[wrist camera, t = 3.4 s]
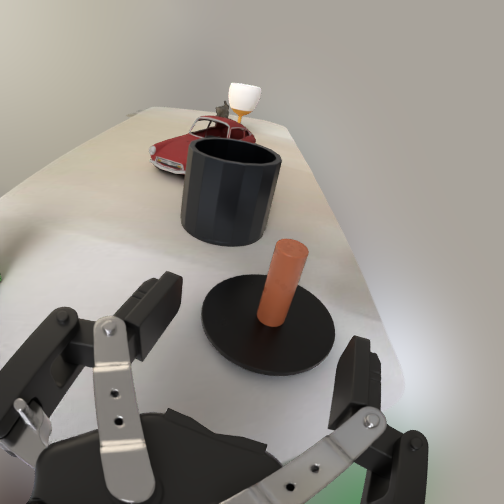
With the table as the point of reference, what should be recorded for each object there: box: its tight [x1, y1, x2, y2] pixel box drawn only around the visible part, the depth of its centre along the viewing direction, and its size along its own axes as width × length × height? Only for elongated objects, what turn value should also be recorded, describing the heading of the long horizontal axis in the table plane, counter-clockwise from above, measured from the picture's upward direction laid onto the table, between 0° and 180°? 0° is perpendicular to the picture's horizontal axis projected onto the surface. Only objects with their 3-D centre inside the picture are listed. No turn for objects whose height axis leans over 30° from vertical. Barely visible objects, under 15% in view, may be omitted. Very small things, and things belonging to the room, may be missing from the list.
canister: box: [181, 137, 282, 246], centre depth 40 cm, size 11×11×10 cm
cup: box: [229, 83, 261, 123], centre depth 82 cm, size 9×9×16 cm
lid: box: [201, 239, 335, 376], centre depth 27 cm, size 12×12×9 cm
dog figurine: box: [216, 101, 229, 118], centre depth 103 cm, size 12×6×7 cm, turn 178°
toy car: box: [149, 116, 256, 175], centre depth 60 cm, size 11×25×10 cm, turn 155°
